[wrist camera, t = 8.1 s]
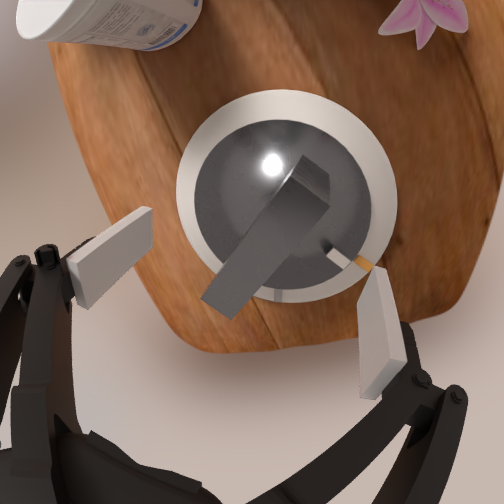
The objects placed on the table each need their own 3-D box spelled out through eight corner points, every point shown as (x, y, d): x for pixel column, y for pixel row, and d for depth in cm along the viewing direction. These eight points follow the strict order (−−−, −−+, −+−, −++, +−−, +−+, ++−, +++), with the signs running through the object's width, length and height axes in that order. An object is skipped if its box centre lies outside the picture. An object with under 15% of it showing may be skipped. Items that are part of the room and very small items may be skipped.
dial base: (180, 97, 23) (168, 96, 21) (401, 103, 19) (408, 102, 17) (195, 278, 33) (187, 289, 31) (371, 300, 28) (373, 313, 26)
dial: (174, 222, 27) (118, 268, 19) (255, 84, 19) (212, 68, 12) (297, 309, 28) (282, 379, 20) (405, 197, 21) (442, 245, 13)
